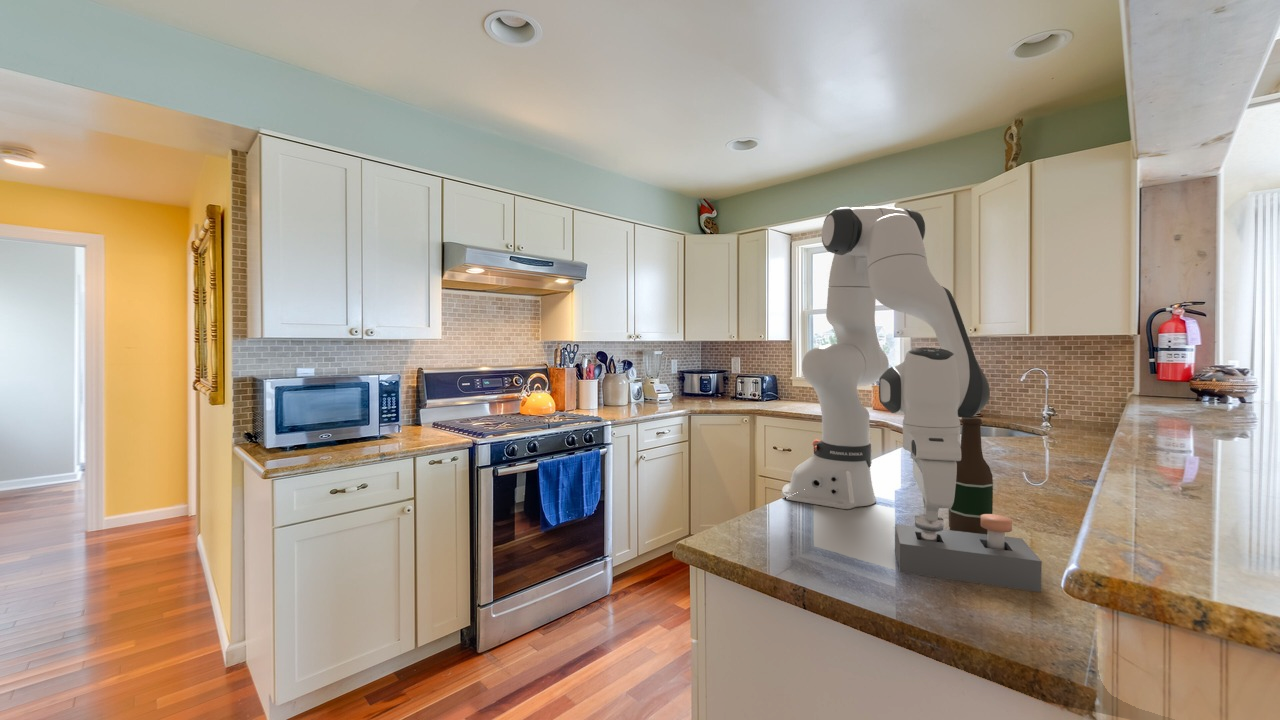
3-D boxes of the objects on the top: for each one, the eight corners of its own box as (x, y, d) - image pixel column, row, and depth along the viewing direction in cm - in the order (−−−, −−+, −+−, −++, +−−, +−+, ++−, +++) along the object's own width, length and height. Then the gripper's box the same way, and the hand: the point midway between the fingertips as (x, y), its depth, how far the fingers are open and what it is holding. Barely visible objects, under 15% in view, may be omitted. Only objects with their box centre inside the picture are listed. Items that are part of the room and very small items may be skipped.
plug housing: (899, 572, 89) (900, 543, 89) (894, 550, 98) (895, 524, 98) (1041, 592, 81) (1041, 561, 81) (1021, 566, 91) (1021, 538, 91)
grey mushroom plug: (916, 555, 90) (916, 520, 90) (913, 545, 94) (913, 512, 94) (945, 558, 89) (945, 523, 89) (940, 549, 93) (941, 515, 93)
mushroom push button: (983, 556, 87) (984, 520, 86) (977, 546, 91) (977, 512, 90) (1014, 560, 85) (1015, 524, 85) (1007, 550, 89) (1007, 515, 89)
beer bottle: (996, 532, 107) (998, 416, 106) (987, 543, 101) (989, 421, 100) (953, 523, 112) (954, 413, 111) (943, 533, 106) (944, 417, 106)
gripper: (904, 430, 102) (904, 499, 102) (918, 450, 83) (918, 536, 83) (941, 431, 99) (941, 503, 100) (963, 453, 80) (963, 540, 81)
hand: (930, 518), depth 91 cm, fingers closed
